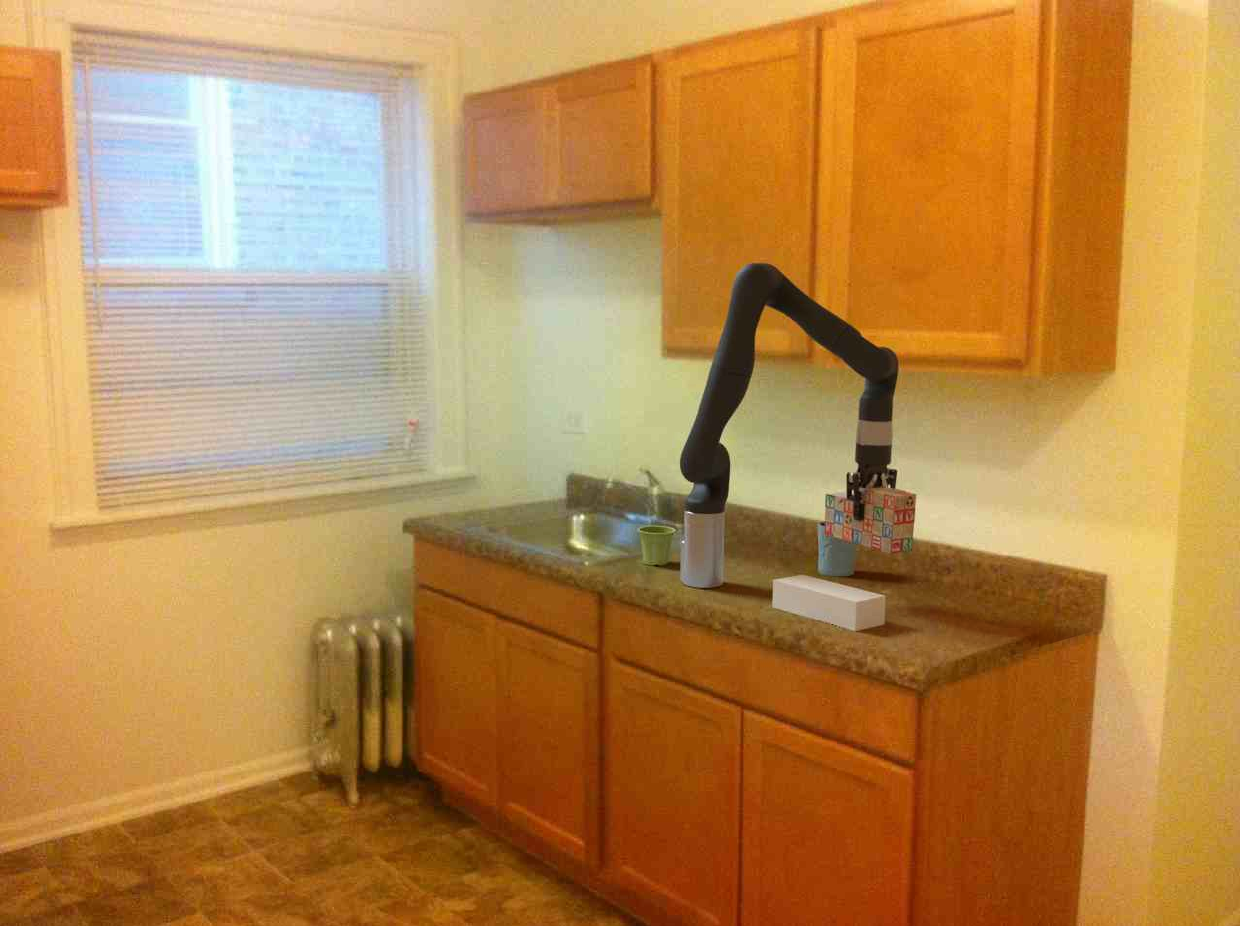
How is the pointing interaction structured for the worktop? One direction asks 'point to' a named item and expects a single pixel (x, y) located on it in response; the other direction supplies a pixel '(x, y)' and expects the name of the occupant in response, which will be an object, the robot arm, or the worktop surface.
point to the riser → (829, 602)
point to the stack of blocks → (874, 519)
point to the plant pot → (656, 544)
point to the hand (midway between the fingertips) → (869, 518)
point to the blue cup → (835, 554)
